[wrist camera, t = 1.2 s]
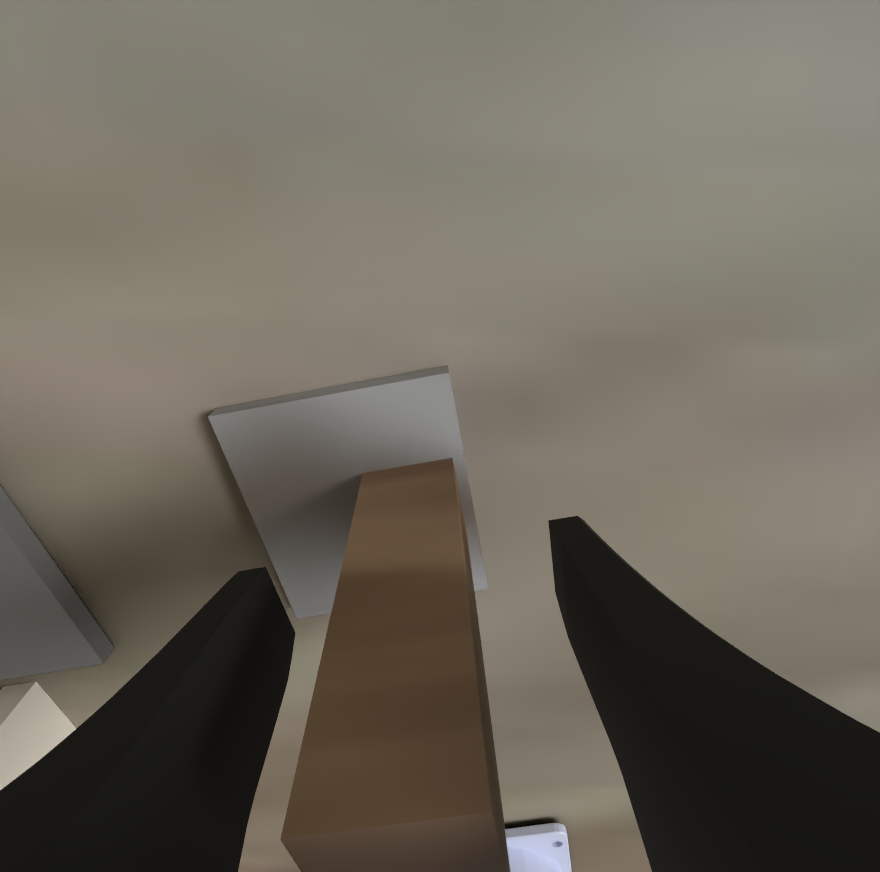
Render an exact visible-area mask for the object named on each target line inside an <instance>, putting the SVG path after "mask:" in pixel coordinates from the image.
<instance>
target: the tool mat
mask: <svg viewBox="0 0 880 872" xmlns="http://www.w3.org/2000/svg"><path fill="white" fill-rule="evenodd" d="M114 649H115V648H114V646H113V645H112V644H111V642H110V641H109V639H108V638H107V636H106V635H105V634H104V632H103V631H102V629H101V628H100V626H99V625H98V624H97V622H96V621H95V619H94V618H93V617H92V615H91V614H90V612H89V611H88V609H87V608H86V607H85V605H84V604H83V602H82V601H81V599H80V598H79V597H78V595H77V594H76V592H75V591H74V590H73V588H72V587H71V585H70V584H69V582H68V581H67V580H66V578H65V577H64V575H63V574H62V572H61V571H60V570H59V568H58V567H57V565H56V564H55V563H54V561H53V560H52V558H51V557H50V555H49V554H48V553H47V551H46V550H45V548H44V547H43V545H42V544H41V543H40V541H39V540H38V538H37V537H36V536H35V534H34V533H33V531H32V530H31V528H30V527H29V526H28V524H27V523H26V521H25V520H24V518H23V517H22V516H21V514H20V513H19V511H18V510H17V509H16V507H15V506H14V504H13V503H12V501H11V500H10V499H9V497H8V496H7V494H6V493H5V491H4V490H3V489H2V487H1V486H0V680H4V679H11V678H17V677H23V676H30V675H36V674H43V673H49V672H56V671H62V670H68V669H75V668H81V667H88V666H94V665H101V664H104V663H105V662H106V660H107V659H108V657H109V656H110V654H111V653H112V651H113V650H114Z"/></svg>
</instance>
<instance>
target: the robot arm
mask: <svg viewBox="0 0 880 872" xmlns="http://www.w3.org/2000/svg"><path fill="white" fill-rule="evenodd" d="M549 530H550V541H551V551H552V561H553V572H554V582H555V592H556V596H557V600H558V603H559V607H560V610H561V614H562V617H563V621H564V624H565V628H566V631H567V635H568V638H569V641H570V643H571V646H572V648H573V651H574V653H575V656H576V658H577V661H578V663H579V666H580V668H581V671H582V673H583V676H584V678H585V681H586V683H587V685H588V688H589V690H590V693H591V695H592V698H593V700H594V703H595V705H596V708H597V710H598V713H599V715H600V718H601V720H602V723H603V725H604V727H605V730H606V732H607V735H608V737H609V740H610V742H611V745H612V747H613V750H614V753H615V756H616V758H617V761H618V764H619V767H620V769H621V772H622V775H623V778H624V782H625V785H626V788H627V791H628V794H629V798H630V801H631V804H632V807H633V811H634V814H635V817H636V820H637V823H638V827H639V830H640V833H641V836H642V840H643V843H644V846H645V849H646V853H647V856H648V859H649V863H650V866H651V869H652V872H880V733H879V732H877V731H875V730H874V729H872V728H870V727H868V726H866V725H864V724H862V723H860V722H858V721H857V720H855V719H853V718H851V717H849V716H847V715H846V714H844V713H842V712H840V711H839V710H837V709H835V708H833V707H832V706H830V705H828V704H827V703H825V702H823V701H821V700H820V699H818V698H816V697H815V696H813V695H811V694H809V693H808V692H806V691H804V690H803V689H801V688H799V687H797V686H796V685H794V684H792V683H791V682H789V681H787V680H785V679H784V678H782V677H780V676H779V675H777V674H775V673H774V672H772V671H771V670H769V669H768V668H766V667H764V666H763V665H761V664H760V663H758V662H757V661H755V660H753V659H752V658H750V657H749V656H747V655H746V654H744V653H743V652H741V651H740V650H738V649H737V648H735V647H734V646H733V645H731V644H730V643H728V642H727V641H725V640H724V639H722V638H721V637H719V636H718V635H717V634H715V633H714V632H712V631H711V630H710V629H708V628H707V627H705V626H704V625H703V624H701V623H700V622H699V621H697V620H696V619H695V618H693V617H692V616H691V615H689V614H688V613H687V612H686V611H684V610H683V609H682V608H680V607H679V606H678V605H677V604H675V603H674V602H673V601H671V600H670V599H669V598H668V597H666V596H665V595H664V594H663V593H662V592H660V591H659V590H658V589H657V588H656V587H654V586H653V585H652V584H651V583H650V582H649V581H647V580H646V579H645V578H644V577H643V576H642V575H640V574H639V573H638V572H637V571H636V570H635V569H634V568H632V567H631V566H630V565H629V564H628V563H627V562H626V561H625V560H624V559H622V558H621V557H620V556H619V555H618V554H617V553H616V552H615V551H614V550H613V549H612V548H611V547H610V546H609V545H608V544H607V543H606V542H604V541H603V540H602V539H601V538H600V537H599V536H598V535H597V534H596V533H595V532H594V531H593V530H592V529H591V528H590V526H589V525H588V524H587V523H586V522H585V521H584V520H583V519H581V518H580V517H578V516H574V517H568V518H561V519H555V520H549ZM294 638H295V631H294V629H293V627H292V625H291V622H290V620H289V618H288V616H287V613H286V611H285V609H284V607H283V605H282V602H281V600H280V598H279V596H278V593H277V591H276V589H275V587H274V584H273V582H272V580H271V578H270V576H269V573H268V571H267V569H266V567H263V568H257V569H250V570H244V571H239V572H238V573H237V574H236V575H234V576H233V577H232V578H231V579H230V580H229V581H228V582H227V583H226V584H225V585H224V586H223V587H222V588H221V589H220V590H219V591H218V592H217V593H216V594H215V595H214V596H213V597H212V598H211V599H210V600H209V601H208V602H207V603H206V604H205V605H204V606H203V607H202V609H201V610H200V611H199V612H198V613H197V614H196V615H195V616H194V617H193V618H192V619H191V620H190V621H189V622H188V623H187V624H186V625H185V626H184V627H183V628H182V629H181V630H180V631H179V632H178V633H177V634H176V635H175V636H174V637H173V638H172V639H171V640H170V641H169V642H168V643H167V644H166V645H165V646H164V647H163V648H162V649H161V650H160V651H159V652H158V653H157V654H156V655H155V656H154V657H153V658H152V659H151V660H150V661H149V662H148V663H147V664H146V665H145V666H144V667H143V668H142V669H141V670H140V671H139V672H138V673H137V674H136V675H135V676H134V677H132V678H131V679H130V680H129V681H128V682H127V683H126V684H125V685H124V686H123V687H122V688H121V689H120V690H119V691H118V692H117V693H116V694H115V695H114V696H113V697H112V698H111V699H109V700H108V701H107V702H106V703H105V704H104V705H103V706H102V707H101V708H100V709H98V710H97V711H96V712H95V713H94V714H93V715H92V716H91V717H89V718H88V719H87V720H86V721H85V722H84V723H83V724H82V725H80V726H79V727H78V728H77V729H76V730H74V731H73V732H72V733H71V734H70V735H69V736H67V737H66V738H65V739H64V740H63V741H61V742H60V743H59V744H58V745H57V746H56V747H54V748H53V749H52V750H51V751H50V752H48V753H47V754H46V755H45V756H44V757H42V758H41V759H40V760H39V761H37V762H36V763H35V764H34V765H32V766H31V767H30V768H29V769H27V770H26V771H25V772H23V773H22V774H21V775H19V776H18V777H17V778H16V779H14V780H13V781H12V782H10V783H9V784H8V785H7V786H5V787H4V788H3V789H1V790H0V872H238V868H239V863H240V858H241V853H242V848H243V843H244V838H245V833H246V828H247V823H248V819H249V815H250V811H251V807H252V804H253V800H254V796H255V792H256V789H257V785H258V782H259V778H260V775H261V772H262V768H263V765H264V761H265V758H266V755H267V751H268V748H269V744H270V741H271V737H272V734H273V731H274V727H275V724H276V720H277V717H278V713H279V710H280V706H281V703H282V699H283V696H284V692H285V689H286V685H287V681H288V676H289V670H290V665H291V659H292V652H293V645H294ZM505 834H506V842H507V849H508V857H509V865H510V872H571V863H570V855H569V846H568V838H567V832H566V828H565V826H564V825H562V824H561V823H548V824H540V825H533V826H525V827H517V828H510V829H505Z"/></svg>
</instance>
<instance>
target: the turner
mask: <svg viewBox="0 0 880 872" xmlns="http://www.w3.org/2000/svg"><path fill="white" fill-rule="evenodd" d="M208 418H209V421H210V423H211V425H212V427H213V430H214V432H215V434H216V437H217V439H218V441H219V443H220V446H221V448H222V450H223V452H224V455H225V457H226V459H227V462H228V464H229V466H230V468H231V471H232V473H233V475H234V477H235V480H236V482H237V484H238V487H239V489H240V491H241V493H242V496H243V498H244V500H245V502H246V505H247V507H248V509H249V512H250V514H251V516H252V518H253V521H254V523H255V525H256V528H257V530H258V532H259V534H260V537H261V539H262V541H263V543H264V546H265V548H266V550H267V553H268V555H269V557H270V559H271V562H272V564H273V566H274V568H275V571H276V573H277V575H278V578H279V580H280V582H281V584H282V587H283V589H284V591H285V593H286V596H287V598H288V600H289V603H290V605H291V607H292V609H293V612H294V614H295V616H296V618H297V619H299V618H306V617H312V616H319V615H325V614H331V616H330V621H329V625H328V630H327V634H326V639H325V643H324V648H323V652H322V657H321V661H320V666H319V670H318V674H317V679H316V683H315V688H314V692H313V697H312V701H311V706H310V710H309V715H308V719H307V724H306V728H305V733H304V737H303V741H302V746H301V750H300V755H299V759H298V764H297V768H296V773H295V777H294V782H293V786H292V791H291V795H290V800H289V804H288V808H287V813H286V817H285V822H284V826H283V831H282V835H281V841H282V843H283V844H284V846H285V847H286V849H287V850H288V852H289V853H290V855H291V857H292V858H293V860H294V861H295V863H296V864H297V866H298V867H299V869H300V870H301V872H510V865H509V857H508V849H507V842H506V834H505V826H504V818H503V810H502V803H501V795H500V787H499V779H498V771H497V764H496V756H495V748H494V740H493V732H492V725H491V717H490V709H489V701H488V693H487V686H486V678H485V670H484V662H483V654H482V647H481V639H480V631H479V623H478V615H477V608H476V600H475V592H474V591H478V590H484V589H488V586H487V580H486V574H485V568H484V563H483V557H482V552H481V546H480V541H479V535H478V530H477V524H476V519H475V513H474V508H473V502H472V497H471V491H470V485H469V480H468V474H467V469H466V463H465V458H464V452H463V447H462V441H461V436H460V430H459V425H458V419H457V413H456V408H455V402H454V397H453V391H452V386H451V380H450V375H449V369H448V366H443V367H438V368H432V369H427V370H421V371H416V372H410V373H405V374H399V375H394V376H389V377H383V378H378V379H372V380H367V381H361V382H356V383H350V384H345V385H339V386H334V387H329V388H323V389H318V390H312V391H307V392H301V393H296V394H290V395H285V396H279V397H274V398H268V399H263V400H258V401H252V402H247V403H241V404H236V405H230V406H225V407H219V408H216V409H215V410H214V411H213V412H212V413H211V414H210V415H209V416H208Z"/></svg>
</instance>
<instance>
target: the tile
mask: <svg viewBox="0 0 880 872" xmlns="http://www.w3.org/2000/svg"><path fill="white" fill-rule="evenodd" d="M74 730H76V728H75V727H74V725H73V724H72V723H71V722H70V721H69V720H68V718H67V717H66V716H65V715H64V714H63V712H62V711H61V710H60V709H59V708H58V707H57V705H56V704H55V703H54V702H53V701H52V700H51V698H50V697H49V696H48V695H47V694H46V692H45V691H44V690H43V689H42V688H41V687H40V685H39V684H38V683H37V682H29V683H23V684H16V685H10V686H4V687H3V688H2V689H1V690H0V790H1V789H3V788H4V787H5V786H7V785H8V784H9V783H10V782H12V781H13V780H14V779H16V778H17V777H18V776H19V775H21V774H22V773H23V772H25V771H26V770H27V769H29V768H30V767H31V766H32V765H34V764H35V763H36V762H37V761H39V760H40V759H41V758H42V757H44V756H45V755H46V754H47V753H48V752H50V751H51V750H52V749H53V748H54V747H56V746H57V745H58V744H59V743H60V742H61V741H63V740H64V739H65V738H66V737H67V736H69V735H70V734H71V733H72V732H73V731H74Z"/></svg>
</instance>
